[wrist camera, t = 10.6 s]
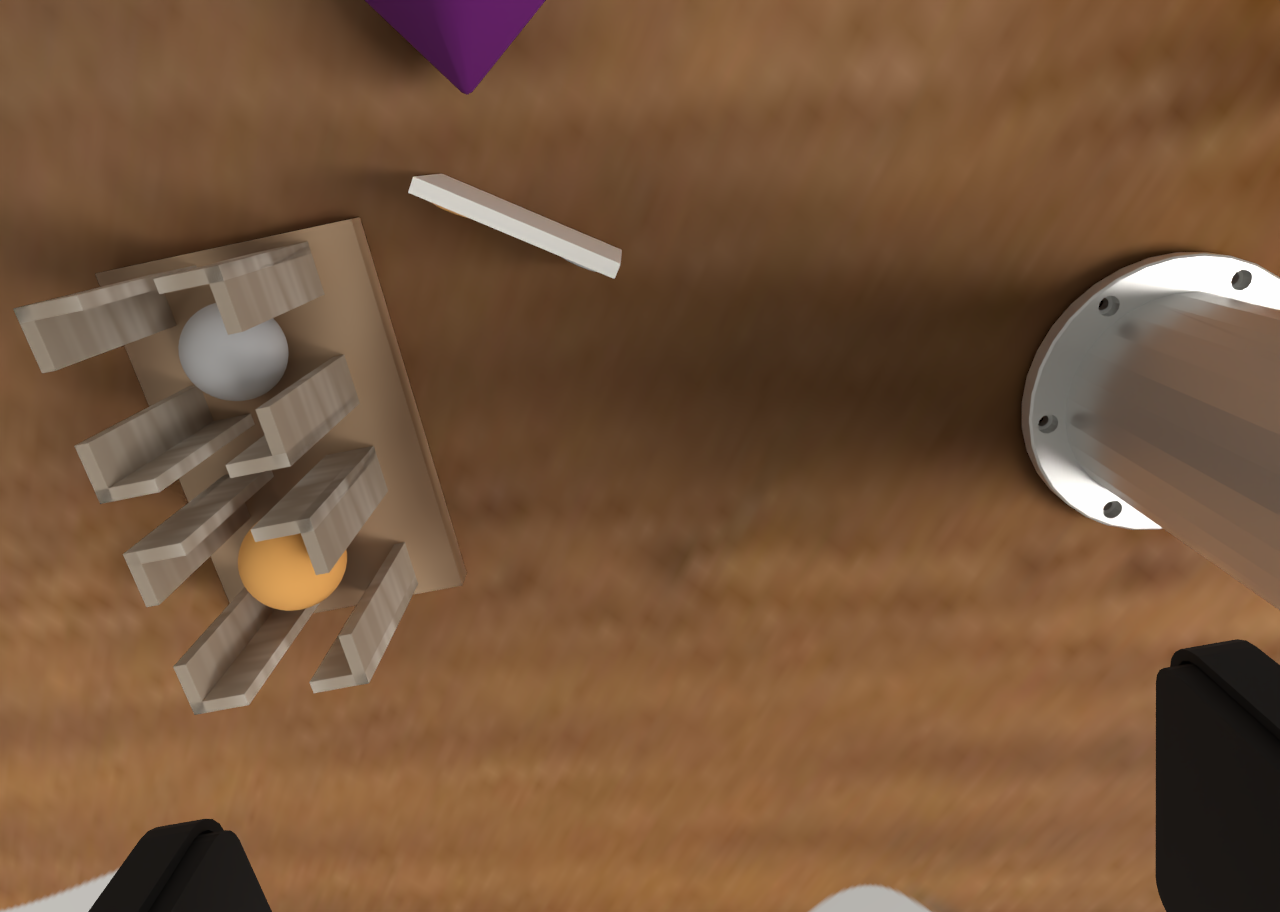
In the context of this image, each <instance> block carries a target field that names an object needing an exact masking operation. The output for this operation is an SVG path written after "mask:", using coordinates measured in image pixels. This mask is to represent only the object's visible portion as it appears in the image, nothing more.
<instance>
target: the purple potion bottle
mask: <svg viewBox="0 0 1280 912" xmlns="http://www.w3.org/2000/svg"><path fill="white" fill-rule="evenodd" d="M365 1H366V2H367V3H368V4H369V5H370V6H371V7H372V8H373V9H374V10H375V11H376V12H377V13H379V14H380V15H381V16H382V17H383V18H384V19H385V20H386V21H387V22H388V23H389V24H390V25H391V26H392V27H393V28H394V29H395V30H396V31H398V32H399V33H400V34H401V35H402V36H403V37H404V38H405V39H406V40H407V41H408V42H409V43H410V44H411V45H412V46H413V47H414V48H415V49H417V50H418V51H419V52H420V53H421V54H422V55H423V56H424V57H425V58H426V59H427V60H428V61H429V62H430V63H431V64H432V65H433V66H434V67H435V68H437V69H438V70H439V71H440V72H441V73H442V74H443V75H444V76H445V77H446V78H447V79H448V80H449V81H450V82H451V83H452V84H453V85H454V86H456V87H457V88H458V89H459V90H460V91H461V92H462V93H465V94H469V93H471V92H473V90H474V89H475V88H476V87H477V85H478V84H479V83H480V82H481V80H482V79H483V78H484V77H485V75H486V74H487V73H488V72H489V70H490V69H491V68H492V67H493V65H494V64H495V63H496V62H497V60H498V59H499V58H500V57H501V55H502V54H503V53H504V52H505V50H506V49H507V48H508V47H509V45H510V44H511V43H512V42H513V40H514V39H515V38H516V37H517V35H518V34H519V33H520V32H521V30H522V29H523V28H524V27H525V25H526V24H527V23H528V22H529V20H530V19H531V18H532V17H533V15H534V14H535V13H536V12H537V10H538V9H539V8H540V7H541V5H542V4H543V3H544V2H545V0H365Z"/></svg>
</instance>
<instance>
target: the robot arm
mask: <svg viewBox="0 0 1280 912" xmlns="http://www.w3.org/2000/svg"><path fill="white" fill-rule="evenodd" d="M1102 299H1103V304H1102V306H1101V307H1099V304H1100V302H1101V301H1102ZM1043 416H1044V419H1043V420H1042V422H1040V423H1039V421H1040V419H1041V418H1042V417H1043ZM1022 431H1023V436H1024V440H1025V445H1026V450H1027V453H1028V455H1029V457H1030V459H1031V461H1032V463H1033V466H1034V468H1035V470H1036V472H1037V473H1038V475H1039V476H1040V477H1041V479H1042V480H1043V481H1044V482H1045V484H1046V485H1047V486H1048V488H1049V489H1050V490H1051V491H1052V492H1053V493H1055V494H1056V495H1057V496H1058V497H1059V498H1060V499H1061V500H1063V501H1064V502H1065V503H1066V504H1067V505H1069V506H1070V507H1072V508H1073V509H1075V510H1076V511H1078V512H1080V513H1081V514H1083V515H1084V516H1086V517H1088V518H1090V519H1093V520H1095V521H1097V522H1100V523H1102V524H1105V525H1109V526H1114V527H1120V528H1126V529H1132V530H1150V529H1165V530H1166V531H1167V532H1169V533H1170V534H1172V535H1173V536H1175V537H1176V538H1177V539H1179V540H1180V541H1182V542H1183V543H1185V544H1186V545H1187V546H1189V547H1190V548H1192V549H1193V550H1195V551H1196V552H1197V553H1199V554H1200V555H1202V556H1203V557H1205V558H1206V559H1207V560H1209V561H1210V562H1212V563H1213V564H1215V565H1216V566H1217V567H1219V568H1220V569H1222V570H1223V571H1225V572H1226V573H1227V574H1229V575H1230V576H1232V577H1233V578H1235V579H1236V580H1237V581H1239V582H1240V583H1242V584H1243V585H1245V586H1246V587H1247V588H1249V589H1250V590H1252V591H1253V592H1255V593H1256V594H1257V595H1259V596H1260V597H1262V598H1263V599H1265V600H1266V601H1267V602H1269V603H1270V604H1272V605H1273V606H1275V607H1276V608H1277V609H1279V610H1280V278H1279V277H1278V276H1276V275H1274V274H1273V273H1271V272H1269V271H1268V270H1266V269H1264V268H1263V267H1261V266H1259V265H1257V264H1255V263H1252V262H1249V261H1246V260H1242V259H1239V258H1236V257H1233V256H1228V255H1222V254H1215V253H1209V252H1175V253H1170V254H1165V255H1160V256H1155V257H1150V258H1147V259H1144V260H1142V261H1139V262H1137V263H1134V264H1131V265H1129V266H1126V267H1124V268H1121V269H1119V270H1118V271H1116V272H1114V273H1113V274H1111V275H1109V276H1108V277H1106V278H1104V279H1102V280H1101V281H1099V282H1097V283H1096V284H1094V285H1093V286H1092V287H1091V288H1089V289H1088V290H1087V291H1086V292H1085V293H1084V294H1082V295H1081V296H1080V297H1079V298H1078V299H1076V300H1075V301H1074V302H1073V303H1072V304H1071V305H1070V306H1069V307H1068V308H1067V309H1066V310H1065V312H1064V313H1063V314H1062V315H1061V316H1060V317H1059V319H1058V320H1057V321H1056V322H1055V323H1054V324H1053V326H1052V327H1051V329H1050V330H1049V332H1048V334H1047V335H1046V337H1045V338H1044V340H1043V342H1042V343H1041V345H1040V347H1039V348H1038V350H1037V352H1036V354H1035V357H1034V360H1033V362H1032V365H1031V367H1030V370H1029V372H1028V375H1027V378H1026V383H1025V388H1024V393H1023V398H1022ZM1156 883H1157V888H1158V892H1159V895H1160V898H1161V901H1162V903H1163V906H1164V908H1165V910H1166V912H1280V665H1279V664H1278V663H1276V662H1275V661H1274V660H1272V659H1271V658H1270V657H1269V656H1267V655H1266V654H1265V653H1264V652H1262V651H1261V650H1260V649H1258V648H1257V647H1256V646H1254V645H1253V644H1251V643H1249V642H1247V641H1245V640H1238V639H1237V640H1231V641H1225V642H1220V643H1214V644H1208V645H1202V646H1197V647H1191V648H1185V649H1180V650H1178V651H1176V652H1175V653H1174V655H1173V657H1172V659H1171V665H1170V667H1168V668H1163V669H1161V670H1160V671H1159V673H1158V674H1157V680H1156ZM89 912H272V911H271V909H270V907H269V904H268V902H267V900H266V898H265V896H264V893H263V891H262V889H261V887H260V885H259V882H258V880H257V878H256V876H255V873H254V871H253V869H252V867H251V865H250V862H249V860H248V858H247V856H246V854H245V851H244V849H243V847H242V845H241V843H240V840H239V839H238V837H237V836H236V834H235V833H233V832H232V831H226V830H225V831H224V830H223V828H222V827H221V825H220V824H219V823H217V822H216V821H215V820H213V819H202V820H196V821H190V822H185V823H179V824H173V825H167V826H162V827H156V828H154V829H152V830H150V831H148V832H147V833H146V834H145V835H144V836H143V837H142V838H141V839H140V840H139V842H138V843H137V845H136V846H135V847H134V849H133V850H132V852H131V853H130V854H129V856H128V857H127V859H126V860H125V861H124V863H123V864H122V866H121V867H120V868H119V870H118V871H117V873H116V874H115V875H114V877H113V878H112V879H111V881H110V882H109V884H108V885H107V886H106V888H105V889H104V891H103V892H102V893H101V895H100V896H99V898H98V899H97V900H96V902H95V903H94V905H93V906H92V908H91V909H90V910H89Z"/></svg>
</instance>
